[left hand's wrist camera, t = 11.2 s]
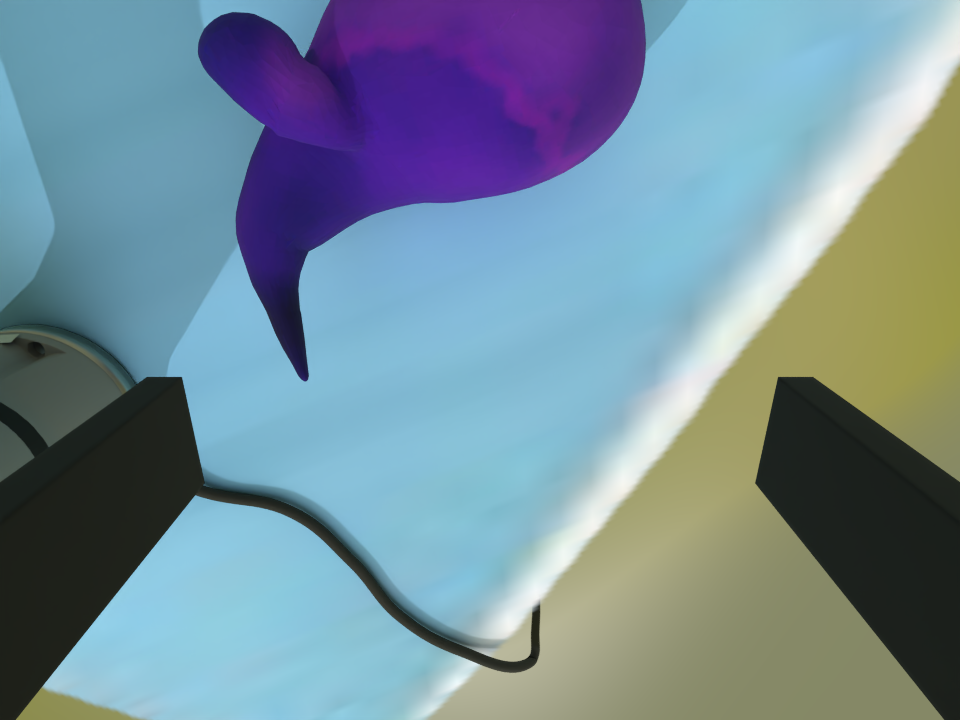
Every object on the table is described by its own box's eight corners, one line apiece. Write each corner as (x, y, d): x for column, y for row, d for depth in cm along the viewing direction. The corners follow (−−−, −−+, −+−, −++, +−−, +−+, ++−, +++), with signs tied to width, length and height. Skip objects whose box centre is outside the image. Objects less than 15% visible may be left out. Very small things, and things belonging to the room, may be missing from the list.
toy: (211, 159, 40) (538, -54, 38) (339, 367, 42) (664, 172, 39) (28, 68, 25) (567, -303, 22) (244, 407, 26) (774, 87, 24)
